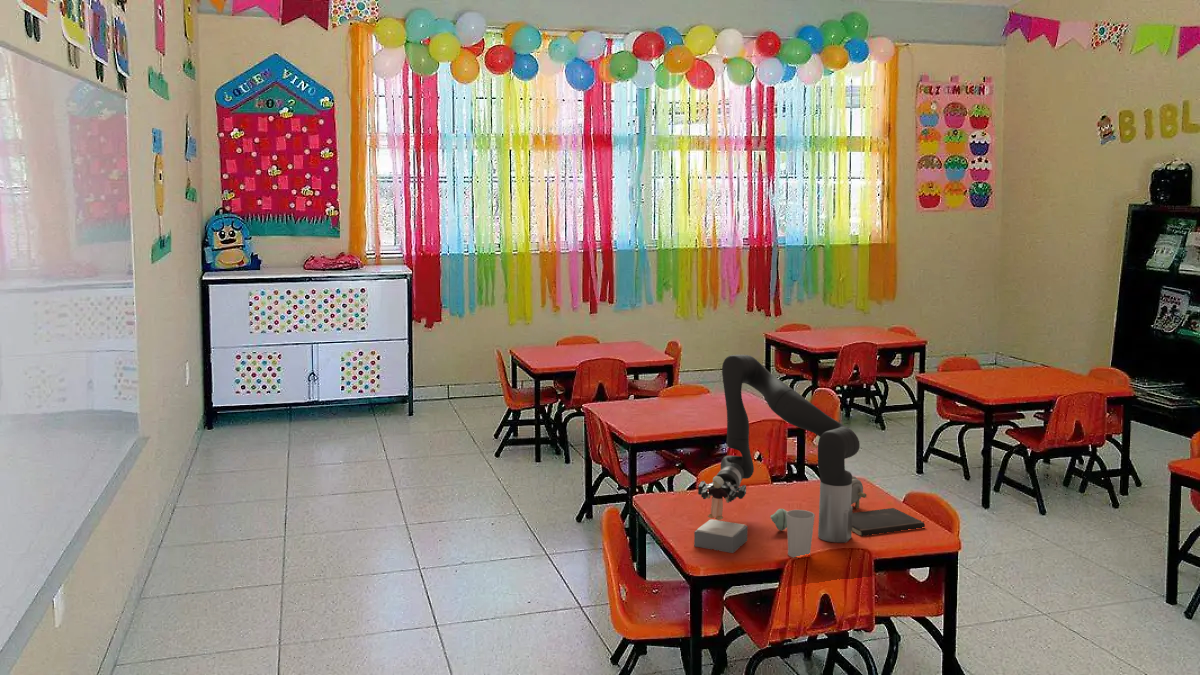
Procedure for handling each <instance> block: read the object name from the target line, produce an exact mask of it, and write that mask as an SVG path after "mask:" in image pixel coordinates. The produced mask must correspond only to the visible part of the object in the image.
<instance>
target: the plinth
mask: <svg viewBox="0 0 1200 675" xmlns="http://www.w3.org/2000/svg"><path fill="white" fill-rule="evenodd" d="M693 536H694V538H693V539H694V540H693V546H694V547H697V548H701V549H702V548H703V549H707V550H708V549H709V550H712V549H714V550H713V551H718V550H719V552H724V553H731V554H734V553H735V552H736V551H738V549H740V548H741V547H742V546H743V545H744V544H745V543H747V541H748V525H746V524H743V523H737V522H730V521H723V520H717V519H713V518H709V519H708V521H706V522H704V523H703V524H702V525H701V526H699V527H698V528H697V529H696V530H694V535H693ZM740 546H741V547H740Z"/></svg>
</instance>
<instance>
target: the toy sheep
mask: <svg viewBox="0 0 1200 675" xmlns="http://www.w3.org/2000/svg"><path fill="white" fill-rule="evenodd" d="M862 498H863V499H865V498H867V494H866V493H865V492H864V486H863V482H862V481H861V480H859V479H858V478H857V477H856V476H854V475H852V492H851V506H852V505H853V504H855V509H859V508H860V499H862Z"/></svg>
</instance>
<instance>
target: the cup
mask: <svg viewBox="0 0 1200 675" xmlns="http://www.w3.org/2000/svg"><path fill="white" fill-rule="evenodd" d="M815 515H816V514H815V513H814V512H812V511H810V510H805V509H791V510H787V513H786V518H787V528H786V531H787V556H789V557H791V558H794V557H796V556H800V555H805V554H809V553H810V554H811V549H812V548H811V547H812V541H813V540H812V539H813V531H814V524H815Z"/></svg>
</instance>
